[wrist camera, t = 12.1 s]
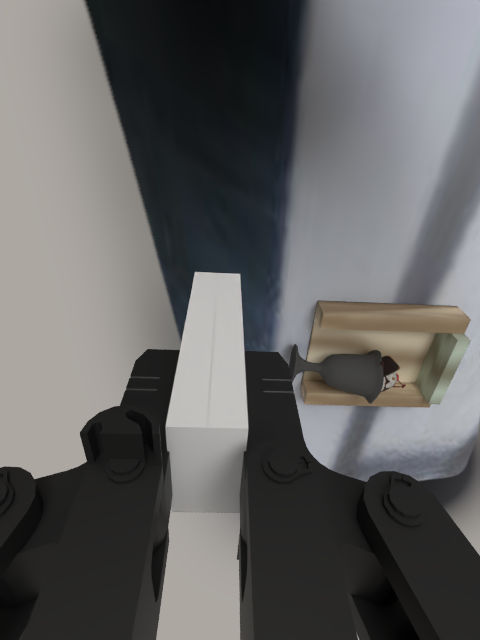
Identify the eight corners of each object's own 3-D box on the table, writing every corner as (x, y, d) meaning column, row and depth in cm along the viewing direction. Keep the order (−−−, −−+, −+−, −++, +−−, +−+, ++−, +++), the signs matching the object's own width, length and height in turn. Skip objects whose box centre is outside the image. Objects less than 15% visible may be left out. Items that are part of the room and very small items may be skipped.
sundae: (285, 380, 49) (396, 397, 49) (289, 398, 42) (418, 419, 42) (293, 332, 48) (407, 350, 48) (299, 343, 41) (431, 364, 41)
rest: (318, 300, 43) (326, 320, 39) (456, 306, 44) (477, 326, 40) (300, 388, 50) (306, 412, 47) (419, 391, 51) (434, 415, 48)
